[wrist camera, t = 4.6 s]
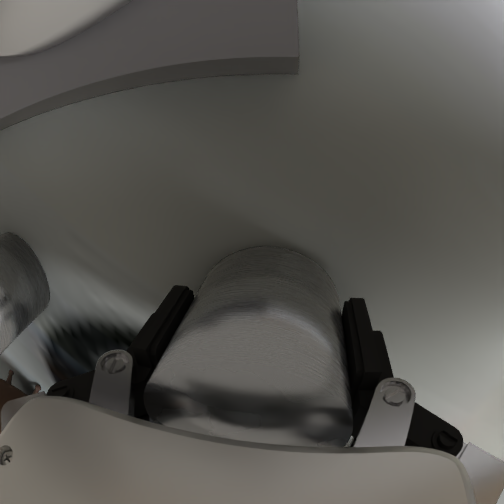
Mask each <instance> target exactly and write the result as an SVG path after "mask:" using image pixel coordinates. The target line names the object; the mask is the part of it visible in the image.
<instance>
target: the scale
mask: <svg viewBox="0 0 504 504" xmlns="http://www.w3.org/2000/svg"><path fill="white" fill-rule="evenodd" d="M298 68H299V37H298V11H297V0H0V130H2V129H4V128H6V127H9V126H11V125H13V124H16V123H18V122H21V121H23V120H26V119H28V118H31V117H33V116H36V115H39V114H42V113H44V112H47V111H50V110H53V109H56V108H59V107H62V106H65V105H68V104H72V103H75V102H78V101H82V100H85V99H89V98H93V97H96V96H100V95H104V94H108V93H112V92H117V91H121V90H126V89H131V88H135V87H141V86H146V85H152V84H157V83H164V82H170V81H177V80H185V79H193V78H203V77H213V76H227V75H245V74H298Z"/></svg>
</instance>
